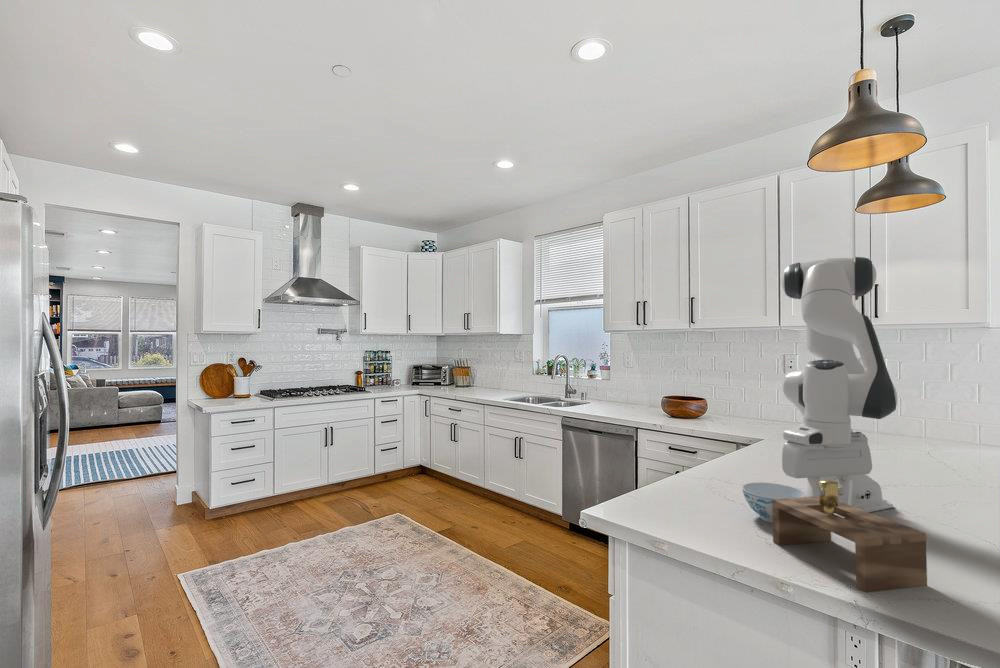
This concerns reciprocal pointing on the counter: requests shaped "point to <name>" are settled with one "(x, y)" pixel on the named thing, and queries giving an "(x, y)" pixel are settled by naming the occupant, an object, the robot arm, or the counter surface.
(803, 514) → the keyhole shelf
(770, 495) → the chinaware
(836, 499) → the brass peg
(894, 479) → the counter surface
